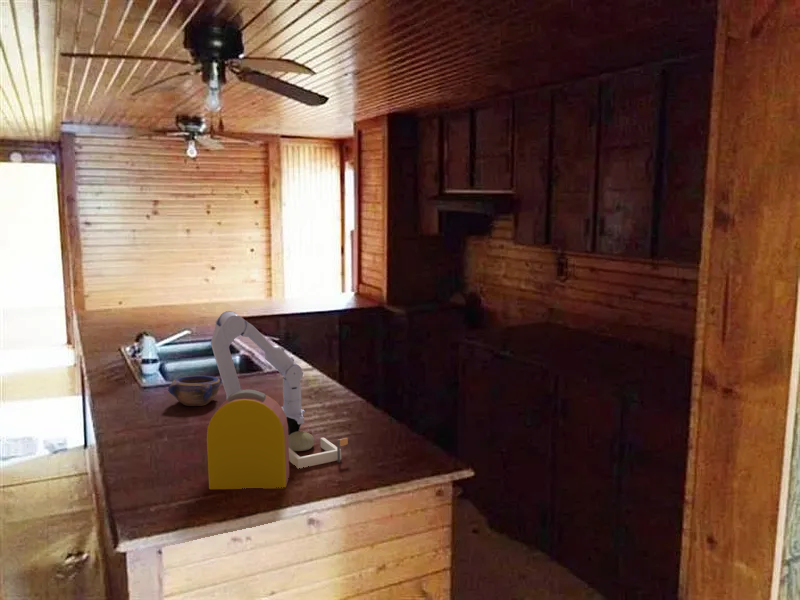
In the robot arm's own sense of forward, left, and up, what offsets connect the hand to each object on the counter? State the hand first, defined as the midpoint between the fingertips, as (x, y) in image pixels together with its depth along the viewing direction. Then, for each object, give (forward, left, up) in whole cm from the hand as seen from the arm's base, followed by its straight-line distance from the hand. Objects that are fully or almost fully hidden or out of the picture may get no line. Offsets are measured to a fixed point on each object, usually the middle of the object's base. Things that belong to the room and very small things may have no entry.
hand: (293, 439), depth 219 cm
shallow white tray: (+1, -16, -1) cm, 16 cm away
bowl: (-16, +59, -1) cm, 61 cm away
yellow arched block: (-22, -23, -1) cm, 32 cm away
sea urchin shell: (0, -6, -1) cm, 6 cm away
